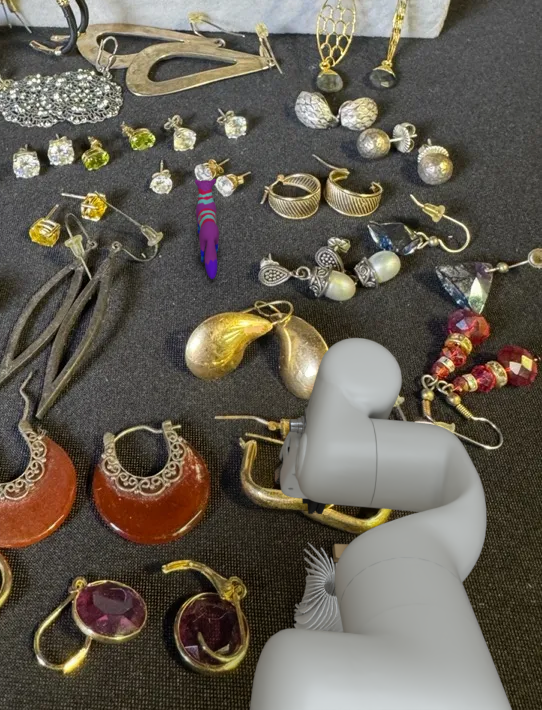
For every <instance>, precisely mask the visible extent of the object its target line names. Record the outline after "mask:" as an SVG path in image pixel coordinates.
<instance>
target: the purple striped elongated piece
mask: <svg viewBox="0 0 542 710" xmlns="http://www.w3.org/2000/svg"><path fill="white" fill-rule="evenodd" d="M216 182H217V178H213V179H211V180H208V179H202V180H199V179H194V184H195V185H196V187H197V192H198V196H197V204H196V206H195V219H196V224H197V230H196V231H195V233H196V235H197V236H198V240H199V248H200V258H199V262H200V264H204V268H205V271H206V274H207V276H208V278H209V279H210V280H214V279H215V278H216V276H217V273H218V250H219V240H220V230H219V226H218V225H217V211H218V210H217V206H216V203H215V201H214V196H213V187H214V186H215V184H216Z"/></svg>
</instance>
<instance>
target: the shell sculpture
mask: <svg viewBox="0 0 542 710" xmlns="http://www.w3.org/2000/svg"><path fill="white" fill-rule="evenodd" d="M307 544H308V546H309V547H310V548H311V549H312V550H313V551H314V553H315V554H316V555H317V557H318V558H317V557H315V556H314V555H312V554H311V552H310V551H309V550H308V549H306V548H304V549H303V551H304V552H305V553H306V554H307V555H308V556H310V558H311V559H312V560H313V562H314V563H313V562H311V560H310V559H309V558H307V557H306V556H305V557H303V560H304V561H306V562H307V563H308V564H309V566H310V567H311V568H308V567H304V568H305V570H306V572H307V575H306V577H305V582H306V583H305V589H304V593H303V597H302V599H301V602H299V604H298V603H295V605H294V606H295V607H296V608H294V609H293V610H294V612H295V613H294V615H293V616H294V617H293V620H294V621H296V622H295V623H293V626H294V628H298V629H311V630H321V631H331V632H342V633H343V627H342V622H341V616H340V611H339V606H338V601H337V596H336V591H335V580H334V578H335V570H336V566H337V563H338V562H334V560H333V558H332V556H331V557H330V560H329V557H328V554H327V553H326V551H325V550H324V549H323V547H320V550H321V552H322V554H323V556H322V554H321V553H320V552H319V550H317V549H316V548H315V547H314V546H313V545H312V544H311V543H309V542H307ZM330 561H331V563H330Z"/></svg>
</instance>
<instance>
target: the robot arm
mask: <svg viewBox="0 0 542 710" xmlns="http://www.w3.org/2000/svg"><path fill="white" fill-rule="evenodd" d="M314 379H315V380H314V383H313V387H312V390H311V393H310V397H309V400H308V403H307V407H306V408H304V410H303V414H302V415H300V416H299V417H296V418H289V421H288V433H287V435H286V437H285V439H284V441H283V443H282V446H281V449H280V451H279V457H278V459H279V461H281V463H280V464H279V466H278V467H277V468H276V469H275V471H274V483H275V484H276V485H279V486H280V491H281V493H282V494H283V495H285V496H287V497H288V498H292V499H301V501H302V504H304V505H306V506H307V514H308V515H314V514H317V515H323V513H324V510H325V508H326V505H333V506H334V505H335V506H336V505H337V506H346V507H347V506H348V507H359V508H371V509H382V510H395V511H405V512H415V513H411V514H408V515H405V516H402V517H398V518H396V519H393V520H391V521H387V522H384V523H381V524H379V525H377V526H374V527H372V528H370V529H368V530H366V531H364V532H363V533H361V534H360V535H358V536H357V537H356V538H353V540H352V541H350V542H349V543H348V544H349V545H348V546H347V547H346V548H345V550H344V551H343V553H342V554H341V556H340V558H339V560H338V562H336V563H337V566H336V565H335V569H336V570H335V578H334V580H335V588H334V590H335V591H336V596H337V601H338V606H339V611H340V616H341V622H342V627H343V633H342V632H331V631H321V630H311V629H298V628H295V627H293V628H285V629H281V630H279V631H277V632H276V633H274V634H273V635H271V636H270V637H269V638H268V639H267V641H266V643H265V644H264V646H263V648H262V650H261V652H260V654H259V658H258V660H257V664H256V667H255V672H254V677H253V682H252V688H251V697H250V704H249V710H513V709H512V707H511V704H510V701H509V699H508V696H507V693H506V691H505V688H504V686H503V684H502V681H501V678H500V676H499V673H498V671H497V668H496V665H495V663H494V659H493V657H492V655H491V652H490V650H489V647H488V645H487V642H486V639H485V637H484V634H483V632H482V630H481V627H480V625H479V622H478V619H477V617H476V614H475V612H474V609H473V607H472V604H471V602H470V599H469V596H468V594H467V591H466V588H465V587H464V584H463V582H464V581H465V580H466V579H467V577H468V576H469V575H470V573H471V572H472V571H473V569H474V567H475V565H476V563H477V562H478V560H479V558H480V556H481V553H482V550H483V547H484V545H485V544H484V543H485V538H486V531H487V505H486V497H485V490H484V487H483V483H482V480H481V477H480V475H479V473H478V471H477V468H476V467H475V465H474V463H473V461H472V458H471V457H470V455H469V453H468V451H467V449H466V448H465V446H464V444H463V442H462V441H461V440H460V439H459V438H458V436H456V434H454V433H453V432H452V431H451V430H449V429H448V428H446V427H443V426H440V425H436V424H433V423H426V422H418V421H408V420H396V419H389V417H390V415H391V412H392V411H393V408H394V407H395V404H396V402H397V400H398V397H399V395H400V392H401V388H402V383H403V375H402V371H401V367H400V365H399V362H398V361H397V359H396V357H395V356H394V355H393V354H392V353H391V352H390V350H388V348H386V347H385V346H383V345H382V344H380V343H379V342H376V341H374V340H371V339H368V338H364V337H363V338H362V337H350V338H346V339H342V340H339V341H337V342H336V343H334V344H332V346H330V347H329V348H328V349H327V350H326V351H325V353H324V354H323V356H322V358H321V359H320V363H319V366H318V369H317V373H316V376H315V378H314Z"/></svg>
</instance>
